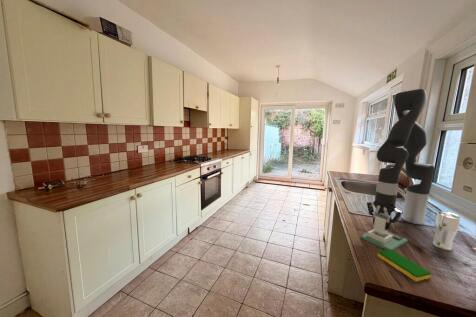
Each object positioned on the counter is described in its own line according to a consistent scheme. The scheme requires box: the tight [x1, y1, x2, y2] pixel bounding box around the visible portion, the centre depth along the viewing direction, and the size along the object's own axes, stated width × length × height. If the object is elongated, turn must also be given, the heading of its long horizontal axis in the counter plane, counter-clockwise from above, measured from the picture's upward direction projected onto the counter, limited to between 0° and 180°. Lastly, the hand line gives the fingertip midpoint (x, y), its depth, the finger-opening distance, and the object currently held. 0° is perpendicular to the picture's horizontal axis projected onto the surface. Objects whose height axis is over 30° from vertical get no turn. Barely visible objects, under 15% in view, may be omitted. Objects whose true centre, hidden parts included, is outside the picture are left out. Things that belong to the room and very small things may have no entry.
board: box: [360, 229, 408, 251], centre depth 90 cm, size 16×12×3 cm
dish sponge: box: [377, 249, 432, 282], centre depth 73 cm, size 7×14×2 cm, turn 16°
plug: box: [372, 213, 389, 234], centre depth 88 cm, size 4×4×8 cm
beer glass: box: [432, 211, 461, 251], centre depth 85 cm, size 7×7×15 cm
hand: (380, 227), depth 89 cm, fingers closed on plug, 4 cm apart
